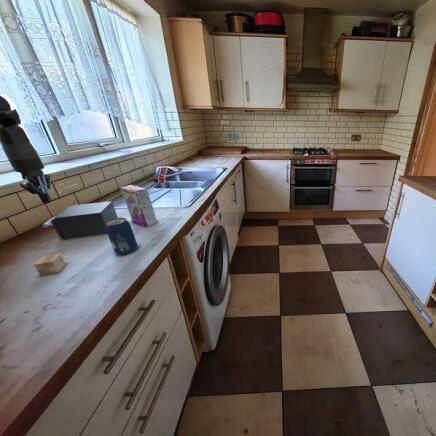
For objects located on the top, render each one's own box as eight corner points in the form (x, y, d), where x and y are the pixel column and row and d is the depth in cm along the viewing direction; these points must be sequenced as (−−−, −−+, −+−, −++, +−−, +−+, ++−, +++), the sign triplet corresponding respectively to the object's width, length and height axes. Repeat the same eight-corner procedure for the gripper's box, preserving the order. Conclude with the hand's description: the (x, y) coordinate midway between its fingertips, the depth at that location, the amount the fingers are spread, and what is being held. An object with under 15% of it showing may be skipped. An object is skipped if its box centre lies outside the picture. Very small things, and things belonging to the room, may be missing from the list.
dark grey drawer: (45, 240, 87) (34, 222, 84) (61, 226, 97) (52, 210, 93) (100, 232, 92) (93, 215, 89) (110, 220, 102) (104, 204, 99)
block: (40, 276, 70) (33, 264, 68) (49, 267, 74) (42, 256, 72) (59, 273, 71) (52, 261, 69) (66, 264, 75) (60, 253, 73)
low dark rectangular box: (65, 239, 89) (53, 218, 85) (80, 225, 100) (70, 205, 95) (109, 233, 93) (100, 212, 89) (119, 220, 104) (111, 201, 99)
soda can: (131, 243, 86) (120, 215, 81) (142, 248, 83) (132, 219, 78) (111, 253, 81) (98, 223, 75) (122, 258, 78) (110, 227, 72)
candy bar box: (131, 222, 102) (119, 187, 95) (142, 218, 106) (131, 184, 99) (147, 227, 97) (135, 191, 90) (158, 223, 101) (147, 188, 94)
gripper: (22, 154, 84) (45, 197, 92) (-6, 161, 73) (23, 210, 80) (48, 152, 86) (68, 195, 94) (24, 159, 75) (49, 207, 83)
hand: (47, 202), depth 87 cm, fingers closed
